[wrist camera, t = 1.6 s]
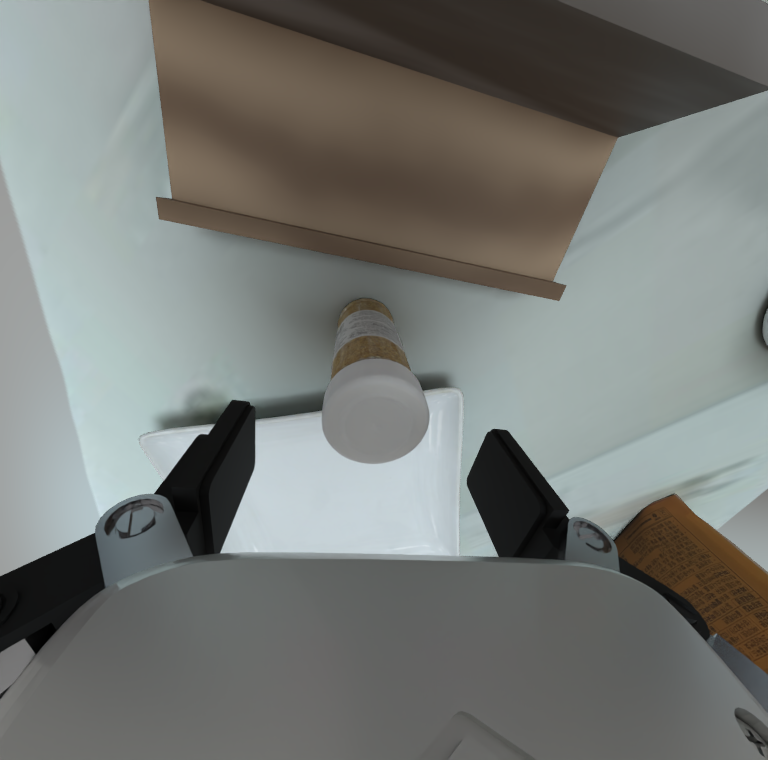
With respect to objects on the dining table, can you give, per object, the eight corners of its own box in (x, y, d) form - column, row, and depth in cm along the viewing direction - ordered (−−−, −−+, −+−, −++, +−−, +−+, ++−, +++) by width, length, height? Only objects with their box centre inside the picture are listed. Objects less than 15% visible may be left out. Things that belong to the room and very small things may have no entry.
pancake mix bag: (577, 568, 46) (833, 969, 21) (654, 483, 37) (1237, 995, 13) (612, 569, 47) (894, 950, 22) (695, 487, 38) (1301, 962, 14)
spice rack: (178, -23, 14) (-99, -407, 6) (594, 117, 18) (812, 24, 10) (199, 219, 19) (68, 218, 10) (524, 287, 23) (627, 327, 14)
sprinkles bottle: (376, 359, 25) (395, 480, 13) (327, 335, 24) (301, 448, 12) (404, 313, 23) (454, 406, 12) (353, 285, 22) (351, 358, 10)
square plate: (256, 574, 39) (247, 607, 36) (157, 410, 26) (127, 438, 23) (452, 543, 40) (461, 573, 37) (453, 367, 27) (467, 389, 23)
